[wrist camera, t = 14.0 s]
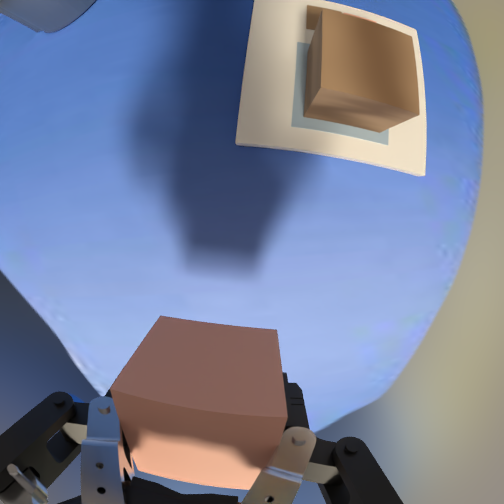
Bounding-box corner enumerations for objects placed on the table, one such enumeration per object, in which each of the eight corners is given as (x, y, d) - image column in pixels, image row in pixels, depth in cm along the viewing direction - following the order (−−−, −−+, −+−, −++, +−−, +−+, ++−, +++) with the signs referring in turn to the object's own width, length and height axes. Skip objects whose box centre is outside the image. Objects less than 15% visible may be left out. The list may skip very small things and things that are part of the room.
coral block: (166, 397, 13) (138, 470, 8) (160, 315, 12) (110, 388, 7) (262, 410, 13) (263, 490, 8) (276, 329, 12) (287, 417, 7)
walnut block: (303, 117, 16) (320, 87, 11) (307, 50, 15) (322, 8, 9) (379, 132, 16) (419, 114, 11) (379, 68, 15) (412, 36, 9)
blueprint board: (236, 145, 18) (235, 142, 17) (255, -2, 15) (255, -9, 14) (418, 176, 18) (425, 175, 16) (411, 34, 15) (416, 29, 13)
